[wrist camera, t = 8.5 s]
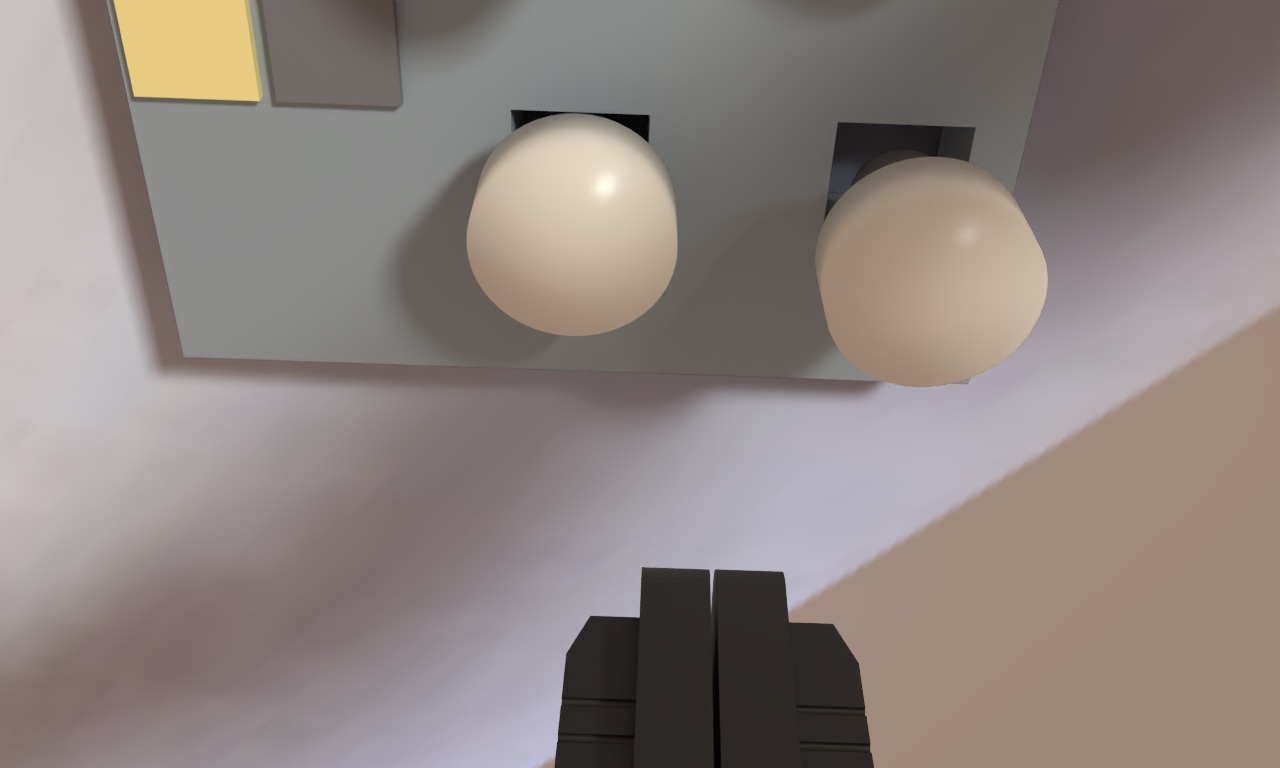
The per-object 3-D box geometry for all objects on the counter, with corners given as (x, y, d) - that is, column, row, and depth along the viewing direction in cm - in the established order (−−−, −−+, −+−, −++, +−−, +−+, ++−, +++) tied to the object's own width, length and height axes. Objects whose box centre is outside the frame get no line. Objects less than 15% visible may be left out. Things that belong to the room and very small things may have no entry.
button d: (679, 68, 31) (683, 154, 27) (669, 238, 33) (671, 339, 29) (486, 61, 31) (461, 146, 26) (492, 231, 33) (471, 332, 29)
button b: (1013, 106, 29) (1071, 202, 25) (974, 278, 32) (1020, 390, 28) (814, 98, 29) (840, 194, 25) (792, 272, 32) (812, 383, 28)
